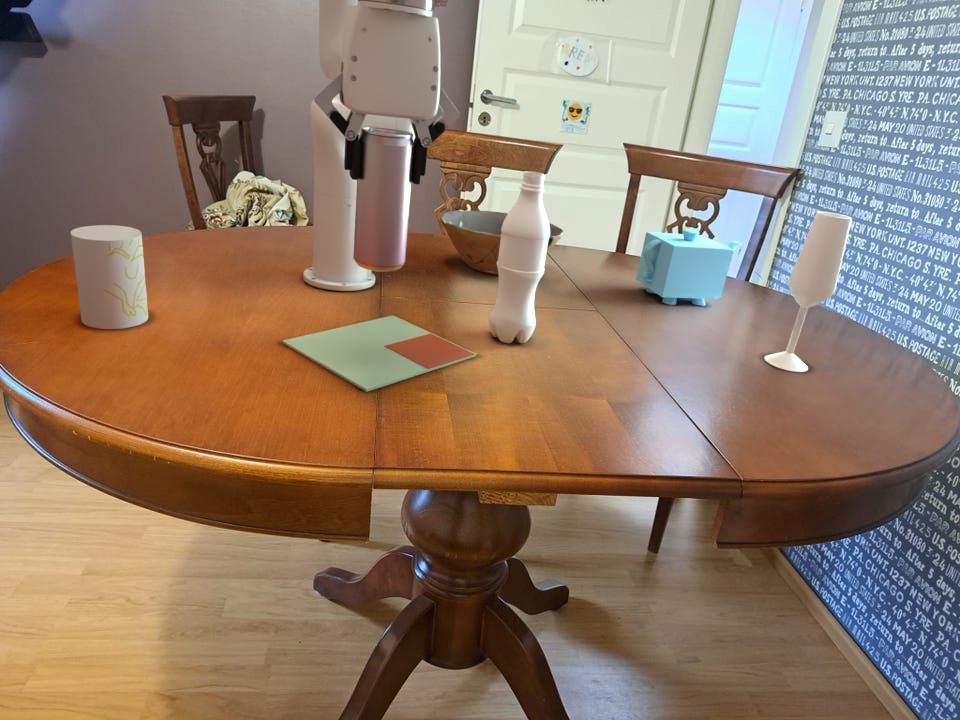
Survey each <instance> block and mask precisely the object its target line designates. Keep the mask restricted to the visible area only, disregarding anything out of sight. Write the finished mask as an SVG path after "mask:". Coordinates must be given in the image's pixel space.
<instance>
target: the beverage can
mask: <svg viewBox="0 0 960 720" xmlns="http://www.w3.org/2000/svg"><path fill="white" fill-rule="evenodd" d="M361 131H362V132H361V135H360V137H359V142H361V158H360V178H359V179H358V180H357V190H356V211H355V233H354V254H353V258H354V260H355V262H356V264H357V265H358V266H360V267H362V268H364V269H367V270H372V272H384V273H385V272H395V271H398V270H400V269H401V268H402V267H403V266H404V264H405V262H406V256H407V255H406V253H407V242H408V230H409V217H410V206H411V205H410V204H411V192H412V182H411V181H412V168H413V156H414V142H413V133H411V132H407V131H403V130H397V129H390V128H381V127H362V128H361Z"/></svg>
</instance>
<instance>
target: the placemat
mask: <svg viewBox="0 0 960 720" xmlns="http://www.w3.org/2000/svg"><path fill="white" fill-rule="evenodd" d="M281 341H282V344H283V345H284V346H287V347H288V348H289V349H292V350H293V351H295V352H297V353H298V354H300V355H302V356H304V357H305V358H306V359H309V360H311V361H312V362H314V363H315V364H317V365H319V366H321V367H322V368H324V369H326V370H327V371H329V372H331V373H332V374H335V375H336V376H338V377H340V378H341V379H343V380H344V381H346V382H348V383H350V384H351V385H353V386H355V387H357V388H358V389H360V390H362V391H364V392H365V393H368V392H370V391H374V390H377V389H379V388H383V387H386V386H389V385H392V384H396V383H398V382H401V381H405V380H408V379H411V378H414V377H417V376H421V375H422V374H426V373H430V372H432V371H435V370H438V369H441V368H445V367H448V366H451V365H454V364H457V363H460V362H463V361H466V360H469V359H473V358H475V357H477V355H478V354H477V353H476V352H473V351H472V350H470V349H468V348H465V347H463V346H461V345H458V344H456V343H455V342H452V341H450V340H448V339H445V338H443V337H441V336H439V335H437V334H435V333H432V332H430V331H428V330H426V329H424V328H421V327H420V326H418V325H415V324H413V323H411V322H409V321H406V320H404V319H402V318H400V317H398V316H396V315H393V314H392V315H388V316H383V317H379V318H375V319H370V320H366V321H362V322H358V323H353V324H349V325H343V326H340V327H336V328H335V327H334V328H331V329H327V330H322V331H318V332H313V333H309V334H304V335H300V336H296V337H292V338H287V339H283V340H281Z"/></svg>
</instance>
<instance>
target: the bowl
mask: <svg viewBox="0 0 960 720" xmlns="http://www.w3.org/2000/svg"><path fill="white" fill-rule="evenodd" d="M508 213H509V212H500V211H490V210H452V211H451V210H450V211H446V212H444V213H441V214H440V215H439V219H440V222H441V223H442V226H443V228H444V229H445V231H446V233H447V235H448V237H449V239H450V241H451V243H452V245H453V246H454V248H455V249H456V251H457V253H458V255H459V256H460V257H461V259H462V260H463V261H464V263H465V264H466V265H467V266H469V267H470V268H471V269H474V270H476V271H480V272H482V273H486V274H492V275H496V276H497V275H498V276H499V274H498V267H497V261H498V256H499V248H500V241H501V233H502V231H501V228H502V224H503V222H504V220H505V218H506V216H507V215H508ZM549 226H550V238H549V240H548V246H547V252H549V250H551V248H553V247H554V246H555V245H556V244H557V243H558V242H559V240H560V239H562V236H563V234H564V230H563V229H562V228H561V227H558V226H557V225H555V224H553V223H550V222H549Z"/></svg>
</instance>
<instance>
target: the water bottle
mask: <svg viewBox="0 0 960 720" xmlns="http://www.w3.org/2000/svg"><path fill="white" fill-rule="evenodd" d="M522 175H523V177H522V181H521V183H520V184H521V185H520V186H519V190H520V193H519V195H518V198H517V200H516V201H515V203H514V204H513V206H512V207H511V209H510V210H509V211H508V212H507V213H508V215H507V216H506V218H505V220H504V222H503V224H502V228H501V231H502V233H501V241H500V248H499V256H498V261H497V267H498V274H499V275H498V290H497V295H496V296H497V297H496V300H495V303H494V306H493V308H492V311H491V312H490V314H489V319H488V322H489V323H488V325H489V330H490V333H491V335H492V337H494V338H497V339H498V340H499V341H500V342H502V343H506V344H511V343H512V342H513V341H514V340H515V338H516V340H517V342H518V343H519V344H525V343H527V342H528V341H529V339H530V338H531V337H532V335H533V334H534V331H535V328H536V324H537V321H536V314H535V296H536V290H537V287H538V284H539V282H540V281H541V279H542V277H543V275H544V274H545V270H546V269H545V264H546V259H547V258H546V257H547V253H548V251H547V246H548V240H549V238H550V226H549V223H550V222H549V219H548V215H547V212H546V210H545V206H544V201H543V193H545V188H544V187H545V185H544V183H545V178H546V175H545V174H544V173H543V172H537V171H531V170H525V171H523V174H522Z"/></svg>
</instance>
